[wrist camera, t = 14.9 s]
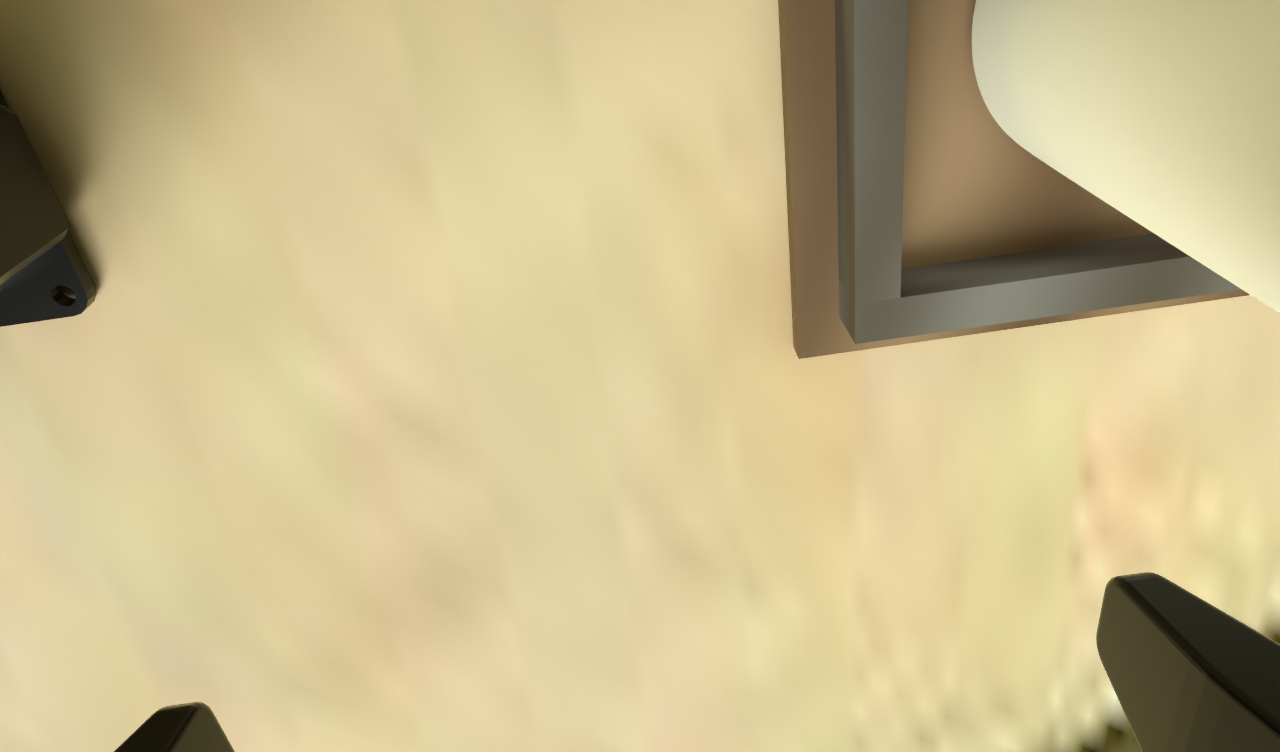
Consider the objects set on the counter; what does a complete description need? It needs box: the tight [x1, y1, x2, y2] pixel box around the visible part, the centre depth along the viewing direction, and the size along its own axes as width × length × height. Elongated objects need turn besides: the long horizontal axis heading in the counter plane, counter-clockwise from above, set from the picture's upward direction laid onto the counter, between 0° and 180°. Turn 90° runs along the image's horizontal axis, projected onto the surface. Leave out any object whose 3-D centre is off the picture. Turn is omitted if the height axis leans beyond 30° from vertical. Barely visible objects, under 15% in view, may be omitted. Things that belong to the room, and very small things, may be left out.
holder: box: [778, 0, 1250, 359], centre depth 18 cm, size 14×14×2 cm
